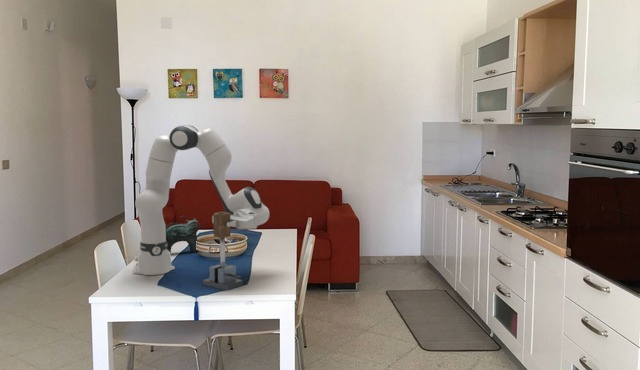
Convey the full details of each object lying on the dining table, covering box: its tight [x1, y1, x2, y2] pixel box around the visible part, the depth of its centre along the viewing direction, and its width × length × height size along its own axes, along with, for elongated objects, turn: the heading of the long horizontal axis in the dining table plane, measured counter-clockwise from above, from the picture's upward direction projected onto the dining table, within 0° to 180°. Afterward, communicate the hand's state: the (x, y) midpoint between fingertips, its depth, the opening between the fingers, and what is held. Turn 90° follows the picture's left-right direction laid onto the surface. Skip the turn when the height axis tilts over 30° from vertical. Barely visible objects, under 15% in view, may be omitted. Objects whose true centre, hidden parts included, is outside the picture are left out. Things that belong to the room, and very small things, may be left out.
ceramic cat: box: [166, 215, 200, 254], centre depth 297 cm, size 20×6×20 cm, turn 122°
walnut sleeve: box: [212, 211, 231, 239], centre depth 240 cm, size 5×5×10 cm
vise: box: [202, 237, 244, 291], centre depth 241 cm, size 17×10×22 cm, turn 57°
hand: (220, 223), depth 240 cm, fingers closed on walnut sleeve, 5 cm apart
